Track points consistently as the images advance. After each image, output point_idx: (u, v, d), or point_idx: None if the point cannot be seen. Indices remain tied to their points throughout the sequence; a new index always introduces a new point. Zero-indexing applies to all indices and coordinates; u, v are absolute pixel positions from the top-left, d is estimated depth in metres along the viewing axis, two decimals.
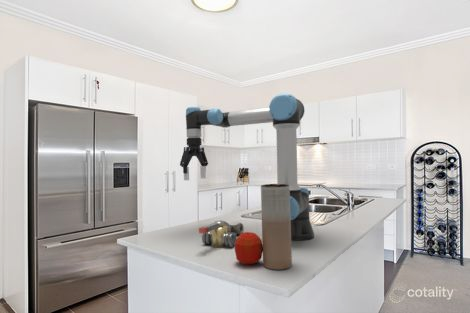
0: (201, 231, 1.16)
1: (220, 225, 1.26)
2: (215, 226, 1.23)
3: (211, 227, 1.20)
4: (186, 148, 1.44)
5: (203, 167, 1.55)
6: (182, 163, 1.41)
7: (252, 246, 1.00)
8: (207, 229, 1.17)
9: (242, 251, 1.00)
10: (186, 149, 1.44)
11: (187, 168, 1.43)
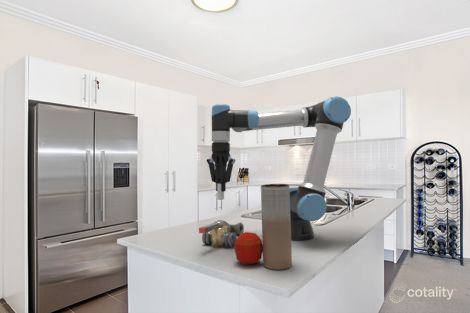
0: (201, 231, 1.16)
1: (220, 225, 1.26)
2: (215, 226, 1.23)
3: (211, 227, 1.20)
4: None
5: None
6: None
7: (252, 246, 1.00)
8: (207, 229, 1.17)
9: (242, 251, 1.00)
10: None
11: (217, 185, 1.20)
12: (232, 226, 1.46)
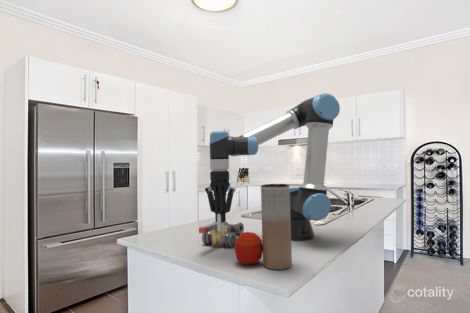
0: (201, 231, 1.16)
1: None
2: (215, 226, 1.23)
3: (211, 227, 1.20)
4: None
5: None
6: None
7: (252, 246, 1.00)
8: (207, 229, 1.17)
9: (242, 251, 1.00)
10: None
11: (217, 215, 1.15)
12: (232, 226, 1.46)
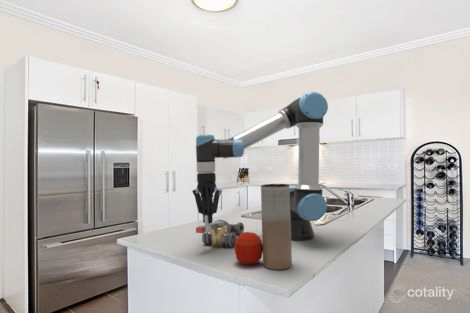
0: (198, 231, 1.17)
1: (219, 225, 1.26)
2: (214, 226, 1.23)
3: None
4: None
5: None
6: None
7: (252, 246, 1.00)
8: (204, 229, 1.18)
9: (242, 251, 1.00)
10: None
11: (205, 217, 1.18)
12: (232, 226, 1.46)
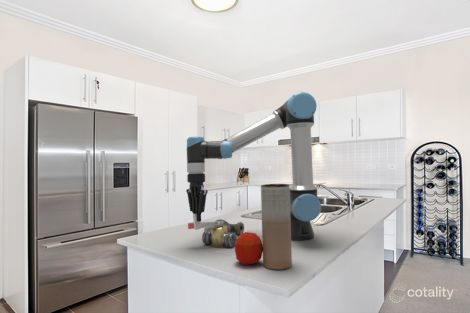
0: (188, 226, 1.26)
1: (216, 225, 1.26)
2: (208, 225, 1.26)
3: None
4: None
5: None
6: None
7: (252, 246, 1.00)
8: (192, 225, 1.25)
9: (242, 251, 1.00)
10: None
11: (194, 215, 1.24)
12: (232, 225, 1.47)
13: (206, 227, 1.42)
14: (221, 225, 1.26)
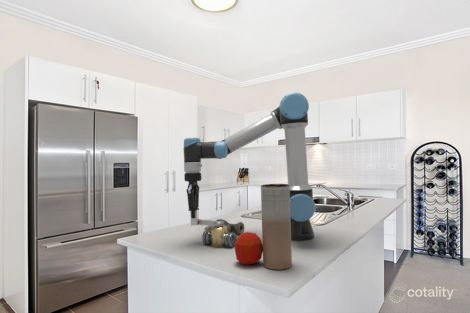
0: None
1: (214, 225, 1.27)
2: (208, 223, 1.29)
3: (202, 222, 1.31)
4: None
5: None
6: None
7: (252, 246, 1.00)
8: None
9: (242, 251, 1.00)
10: None
11: None
12: (232, 225, 1.47)
13: (206, 227, 1.43)
14: (218, 225, 1.26)
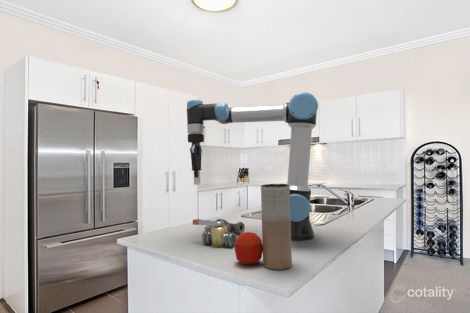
0: None
1: (214, 225, 1.27)
2: (208, 223, 1.29)
3: (202, 222, 1.31)
4: None
5: None
6: None
7: (252, 246, 1.00)
8: (196, 222, 1.32)
9: (242, 251, 1.00)
10: None
11: None
12: (233, 225, 1.48)
13: (206, 226, 1.44)
14: (218, 225, 1.26)
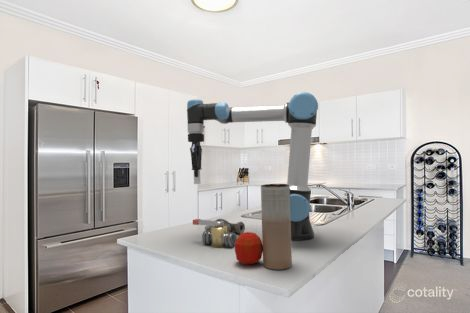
0: None
1: (214, 225, 1.27)
2: (208, 223, 1.29)
3: (202, 222, 1.31)
4: None
5: None
6: None
7: (252, 246, 1.00)
8: (196, 222, 1.32)
9: (242, 251, 1.00)
10: None
11: None
12: (233, 225, 1.48)
13: (206, 226, 1.44)
14: (218, 225, 1.26)
